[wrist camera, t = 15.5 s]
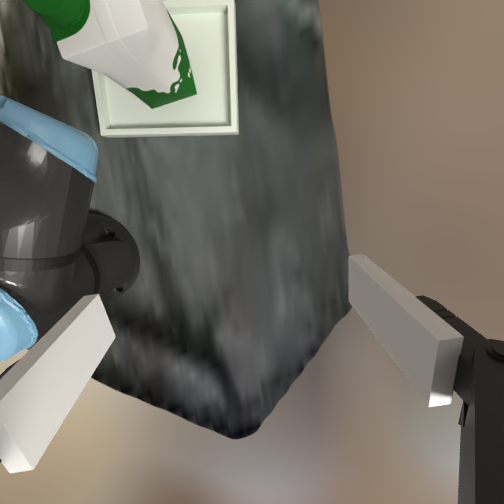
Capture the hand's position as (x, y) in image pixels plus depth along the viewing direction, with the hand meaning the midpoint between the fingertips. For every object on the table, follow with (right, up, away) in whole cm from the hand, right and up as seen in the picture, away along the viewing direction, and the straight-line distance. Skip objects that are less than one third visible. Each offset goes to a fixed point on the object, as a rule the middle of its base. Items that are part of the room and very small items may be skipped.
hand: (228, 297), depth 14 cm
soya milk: (-11, +28, +24) cm, 38 cm away
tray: (-11, +28, +25) cm, 39 cm away
